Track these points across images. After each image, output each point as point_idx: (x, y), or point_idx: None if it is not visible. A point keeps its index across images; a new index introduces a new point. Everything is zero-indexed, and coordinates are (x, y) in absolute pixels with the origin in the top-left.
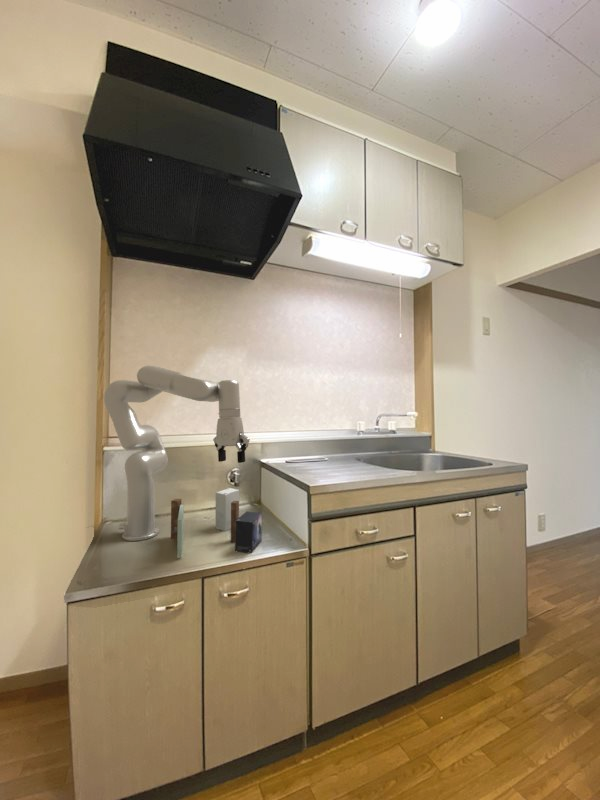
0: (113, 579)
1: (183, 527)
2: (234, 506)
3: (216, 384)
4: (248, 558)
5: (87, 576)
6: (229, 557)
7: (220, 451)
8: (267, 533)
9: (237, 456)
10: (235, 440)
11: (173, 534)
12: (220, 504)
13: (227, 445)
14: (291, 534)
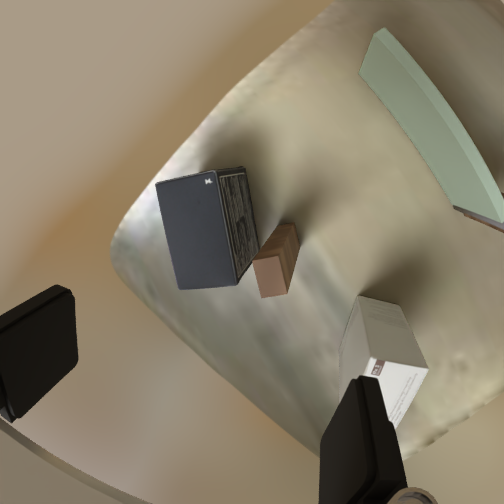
0: None
1: (462, 206)
2: (264, 255)
3: None
4: (189, 146)
5: None
6: (238, 130)
7: (358, 482)
8: (225, 314)
9: (31, 317)
10: None
11: None
12: (392, 338)
13: (15, 437)
14: (164, 322)
